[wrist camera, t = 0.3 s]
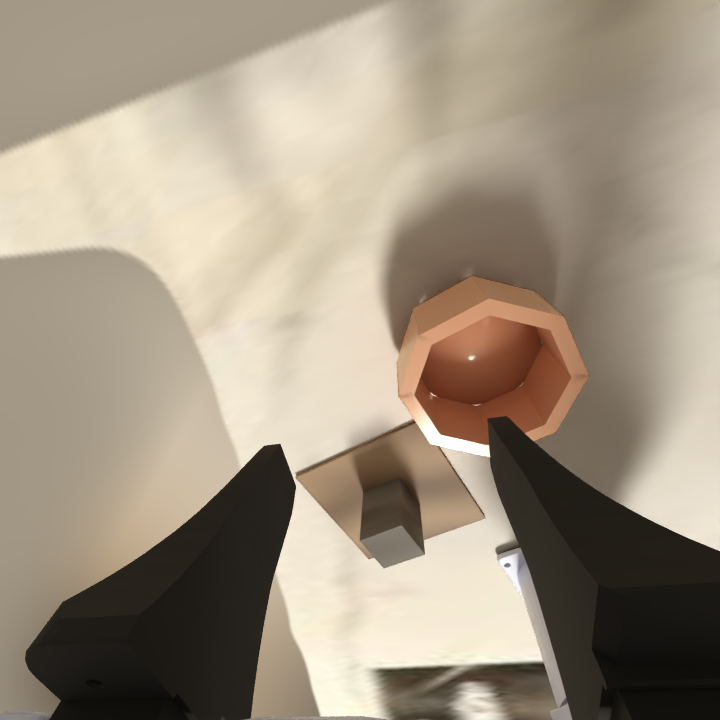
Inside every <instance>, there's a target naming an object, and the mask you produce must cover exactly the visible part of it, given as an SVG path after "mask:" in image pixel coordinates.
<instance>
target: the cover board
mask: <svg viewBox="0 0 720 720" xmlns="http://www.w3.org/2000/svg"><path fill="white" fill-rule="evenodd" d="M296 479H297V480H298V481H299V482H300V483H301V484H302V485H303V487H304V488H305V489H306V490H307V491H308V492H309V493H310V494H311V496H312V497H313V498H314V499H315V500H316V501H317V502H318V503H319V504H320V506H321V507H322V508H323V509H324V510H325V511H326V512H327V513H328V514H329V516H330V517H331V518H332V519H333V520H334V521H335V522H336V523H337V524H338V526H339V527H340V528H341V529H342V530H343V531H344V532H345V533H346V534H347V536H348V537H349V538H350V539H351V540H352V541H353V542H354V543H355V544H356V546H357V547H358V548H359V549H360V550H361V551H362V552H363V553H364V554H365V556H366V557H367V558H368V559H371V558H375V559H376V560H377V561H378V562H379V563H380V564H381V566H382V567H383V568H387V567H389V566H392V565H395V564H398V563H401V562H404V561H407V560H410V559H413V558H416V557H419V556H422V555H425V550H424V540H425V539H428V538H431V537H434V536H437V535H440V534H442V533H445V532H448V531H451V530H454V529H457V528H459V527H462V526H465V525H468V524H471V523H474V522H477V521H479V520H482V519H485V516H484V514H483V513H482V511H481V510H480V508H479V507H478V505H477V504H476V502H475V501H474V499H473V498H472V496H471V495H470V493H469V492H468V490H467V489H466V487H465V486H464V484H463V483H462V481H461V480H460V478H459V477H458V475H457V474H456V472H455V471H454V469H453V468H452V466H451V465H450V463H449V462H448V460H447V459H446V457H445V456H444V454H443V453H442V451H441V450H440V448H439V447H438V446H437V445H433V444H430V442H429V441H428V439H427V438H426V436H425V435H424V434H423V432H422V431H421V429H420V428H419V426H418V425H417V423H416V422H413V423H410V424H408V425H406V426H404V427H402V428H399V429H397V430H395V431H393V432H390V433H388V434H386V435H384V436H382V437H379V438H377V439H375V440H373V441H371V442H368V443H366V444H364V445H362V446H360V447H357V448H355V449H353V450H351V451H349V452H346V453H344V454H342V455H340V456H338V457H335V458H333V459H331V460H329V461H327V462H324V463H322V464H320V465H318V466H316V467H313V468H311V469H309V470H307V471H305V472H302V473H300V474H298V475H296Z"/></svg>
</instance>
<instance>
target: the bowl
mask: <svg viewBox="0 0 720 720" xmlns="http://www.w3.org/2000/svg"><path fill="white" fill-rule="evenodd" d="M540 340H541V342H542V346H541V348H540ZM588 377H589V375H588V372H587V370H586V368H585V365H584V363H583V360H582V358H581V356H580V353H579V351H578V349H577V346H576V344H575V342H574V339H573V337H572V334H571V332H570V330H569V327H568V325H567V323H566V320H565V318H564V316H563V315H562V314H561V313H559V312H558V311H557V310H556V309H555V308H554V307H552V306H551V305H550V304H549V303H548V302H547V301H545V300H544V299H543V298H542V297H541V296H540V295H538V294H537V293H536V292H535V291H531V290H527V289H523V288H519V287H515V286H511V285H507V284H503V283H499V282H495V281H490V280H486V279H482V278H478V277H474V276H471V277H469V278H467V279H465V280H463V281H462V282H460V283H458V284H456V285H454V286H453V287H451V288H449V289H447V290H445V291H444V292H442V293H440V294H438V295H436V296H435V297H433V298H431V299H429V300H427V301H425V302H424V303H422V304H420V305H418V306H416V307H415V308H413V311H412V315H411V318H410V321H409V324H408V328H407V331H406V334H405V337H404V341H403V344H402V347H401V350H400V354H399V357H398V360H397V378H398V397H399V398H400V400H401V401H402V402H403V404H404V405H405V407H406V408H407V410H408V411H409V413H410V414H411V416H412V417H413V419H414V420H415V422H416V423H417V425H418V426H419V428H420V429H421V431H422V432H423V434H424V435H425V436H426V438H427V439H428V441H429V442H430V444H433V445H437V446H442V447H446V448H451V449H455V450H460V451H464V452H469V453H473V454H478V455H482V456H487V457H490V450H489V436H488V422H487V418H494V417H502V416H507V417H509V418H510V419H511V420H512V421H513V422H514V423H515V424H516V425H517V426H518V427H519V428H520V429H521V430H522V431H523V432H524V433H525V434H526V435H527V436H528V437H529V438H530V439H532V440H533V441H536V440H538V439H541V438H543V437H546V436H548V435H551V434H553V433H556V431H557V430H558V428H559V426H560V424H561V423H562V421H563V419H564V418H565V416H566V414H567V413H568V411H569V409H570V407H571V406H572V404H573V402H574V401H575V399H576V397H577V395H578V394H579V392H580V390H581V389H582V387H583V385H584V384H585V382H586V380H587V378H588ZM523 382H524V383H523ZM522 383H523V385H522V386H521V387H519V388H517V387H518V386H520V385H521V384H522ZM516 388H517V389H516ZM430 392H431V393H433V394H434V395H436V396H437V397H435V396H432V394H431V393H430ZM475 404H481V405H478V406H474V405H475Z"/></svg>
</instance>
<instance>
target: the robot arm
mask: <svg viewBox="0 0 720 720" xmlns="http://www.w3.org/2000/svg"><path fill="white" fill-rule="evenodd" d="M487 422H488V436H489V450H490V464H491V469H492V473H493V476H494V480H495V484H496V487H497V491H498V494H499V497H500V499H501V502H502V504H503V507H504V509H505V511H506V514H507V516H508V519H509V521H510V524H511V526H512V529H513V531H514V533H515V536H516V538H517V541H518V543H519V546H520V548H517V549H513V550H510V551H507V552H504V553H501V554H499V555H498V556H497V560H498V563H499V564H500V566H501V567H502V569H503V570H504V572H505V573H506V574H507V576H508V577H509V579H510V580H511V582H512V583H513V584H514V586H515V587H516V589H517V590H518V592H519V593H520V595H521V596H522V597H523V599H524V601H525V604H526V608H527V611H528V614H529V617H530V620H531V623H532V627H533V630H534V633H535V636H536V639H537V643H538V646H539V649H540V652H541V655H542V658H543V662H544V665H545V668H546V671H547V674H548V678H549V681H550V684H551V687H552V690H553V693H554V697H555V700H556V703H557V706H558V709H555V710H552V711H551V712H550V713H551V717H552V720H720V551H718V550H715V549H713V548H710V547H708V546H706V545H703V544H701V543H698V542H696V541H693V540H691V539H689V538H686V537H684V536H682V535H680V534H678V533H675V532H673V531H671V530H669V529H667V528H665V527H663V526H661V525H659V524H656V523H654V522H652V521H651V520H649V519H647V518H645V517H643V516H641V515H639V514H637V513H635V512H633V511H632V510H630V509H628V508H626V507H624V506H623V505H621V504H619V503H617V502H615V501H614V500H612V499H610V498H609V497H607V496H605V495H604V494H602V493H600V492H599V491H597V490H596V489H594V488H593V487H591V486H590V485H588V484H587V483H585V482H584V481H582V480H581V479H580V478H578V477H577V476H575V475H574V474H573V473H571V472H570V471H569V470H567V469H566V468H565V467H563V466H562V465H561V464H560V463H558V462H557V461H556V460H555V459H553V458H552V457H551V456H550V455H549V454H548V453H546V452H545V451H544V450H543V449H542V448H540V447H539V446H538V445H537V444H536V443H535V442H534V441H533V440H532V439H530V438H529V437H528V436H527V435H526V434H525V433H524V432H523V431H522V430H521V429H520V428H519V427H518V426H517V425H516V424H515V423H514V422H513V421H512V420H511V419H510V418H509V417H507V416H502V417H494V418H487ZM295 490H296V485H295V482H294V480H293V477H292V474H291V471H290V469H289V466H288V463H287V461H286V458H285V455H284V453H283V450H282V447H281V444H275V445H267V446H264V447H263V448H262V449H260V450H259V451H258V452H257V453H256V455H255V456H254V457H253V458H252V459H251V460H250V461H249V462H248V463H247V464H246V465H245V466H244V467H243V468H242V469H241V470H240V471H239V472H238V473H237V474H236V475H235V477H234V478H233V479H232V480H231V481H230V482H229V483H228V484H227V485H226V486H225V487H224V488H223V489H222V490H221V491H220V492H219V493H218V494H217V495H216V496H214V497H213V498H212V499H211V500H210V501H209V502H208V503H207V504H206V505H205V506H204V507H203V508H202V509H201V510H200V511H199V512H197V514H195V515H194V516H193V517H192V518H191V519H189V520H188V521H187V522H186V523H185V524H183V525H182V526H181V527H180V528H178V529H177V530H176V531H175V532H173V533H172V534H171V535H169V536H168V537H167V538H165V539H164V540H163V541H161V542H160V543H158V544H157V545H156V546H154V547H153V548H151V549H150V550H149V551H147V552H146V553H145V554H143V555H142V556H140V557H139V558H137V559H136V560H134V561H133V562H131V563H130V564H128V565H127V566H125V567H124V568H122V569H120V570H118V571H117V572H115V573H114V574H112V575H110V576H109V577H107V578H105V579H104V580H102V581H100V582H98V583H97V584H95V585H93V586H91V587H90V588H87V589H86V590H84V591H82V592H80V593H79V594H77V595H75V596H73V597H71V598H69V599H67V600H66V601H64V602H62V604H61V605H60V607H59V608H58V609H57V610H56V612H55V613H54V614H53V616H52V617H51V619H50V620H49V621H48V622H47V624H46V625H45V627H44V628H43V629H42V631H41V632H40V633H39V635H38V636H37V638H36V639H35V640H34V641H33V643H32V644H31V645H30V647H29V648H28V649H27V651H26V656H25V661H26V664H27V666H28V669H29V670H30V671H31V672H32V674H33V675H34V676H35V677H36V678H37V679H38V680H39V681H40V682H41V683H43V684H44V685H45V686H46V687H47V688H48V689H49V690H50V691H51V692H52V693H53V694H54V695H55V696H57V697H58V698H59V699H60V700H61V702H60V703H59V705H58V707H57V708H56V710H55V711H54V713H53V715H52V716H51V715H50V714H47V713H43V712H4V713H2V714H0V720H386V719H380V718H372V717H363V716H346V717H258V718H251V711H252V701H253V693H254V686H255V679H256V671H257V664H258V657H259V650H260V644H261V638H262V632H263V626H264V620H265V615H266V610H267V604H268V599H269V594H270V589H271V584H272V580H273V577H274V573H275V570H276V566H277V563H278V560H279V556H280V553H281V550H282V546H283V543H284V539H285V536H286V533H287V529H288V526H289V522H290V518H291V515H292V510H293V504H294V497H295Z"/></svg>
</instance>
